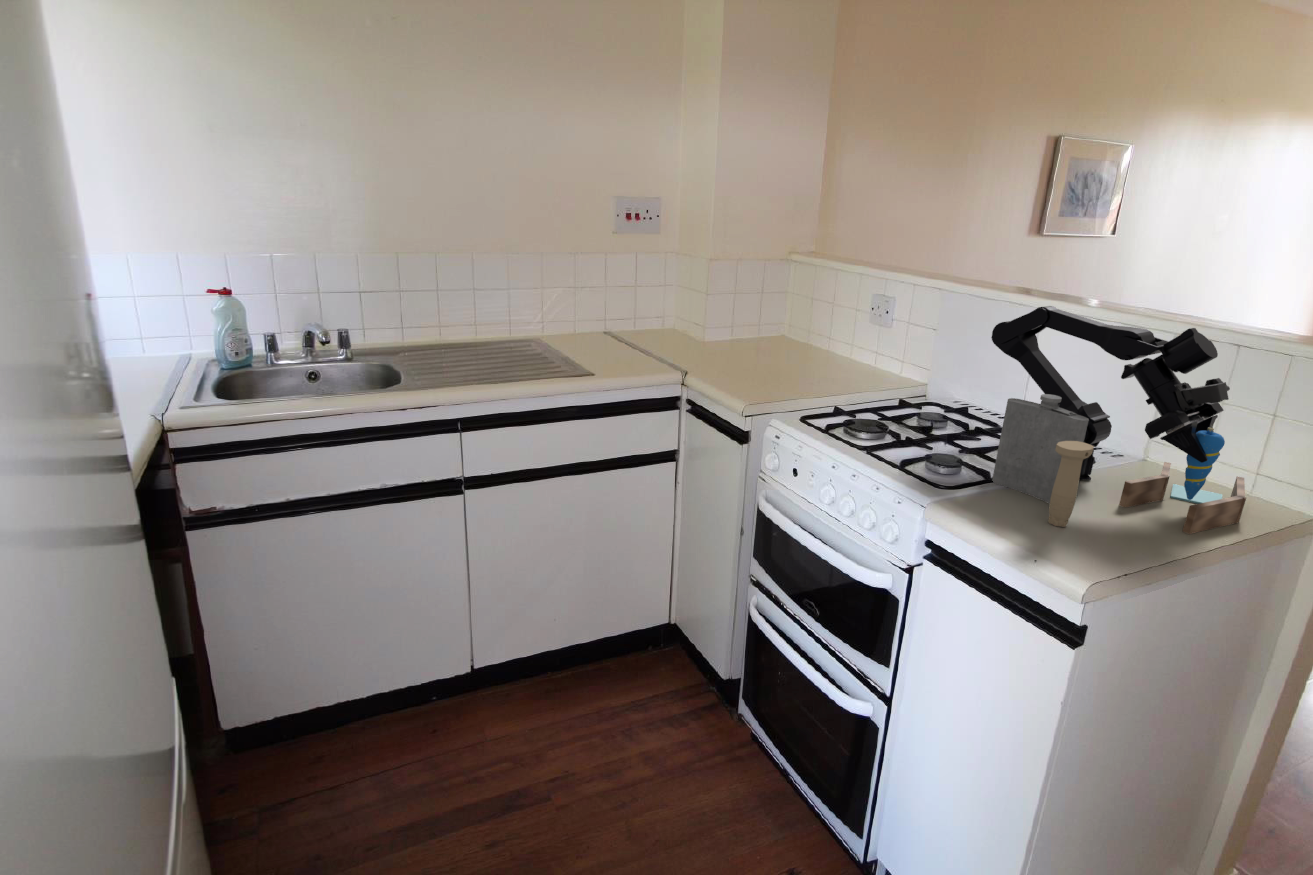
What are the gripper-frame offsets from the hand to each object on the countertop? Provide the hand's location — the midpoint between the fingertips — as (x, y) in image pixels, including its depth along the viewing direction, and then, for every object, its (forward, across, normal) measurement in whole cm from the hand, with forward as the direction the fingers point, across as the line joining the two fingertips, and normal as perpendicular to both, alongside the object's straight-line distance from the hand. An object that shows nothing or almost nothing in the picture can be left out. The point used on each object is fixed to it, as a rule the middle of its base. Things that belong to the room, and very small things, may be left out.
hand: (1211, 459), depth 140 cm
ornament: (+5, 0, +7) cm, 9 cm away
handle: (0, -28, +16) cm, 32 cm away
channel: (+6, +2, +10) cm, 12 cm away
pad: (+5, +11, +11) cm, 16 cm away
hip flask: (-7, -18, +24) cm, 31 cm away
